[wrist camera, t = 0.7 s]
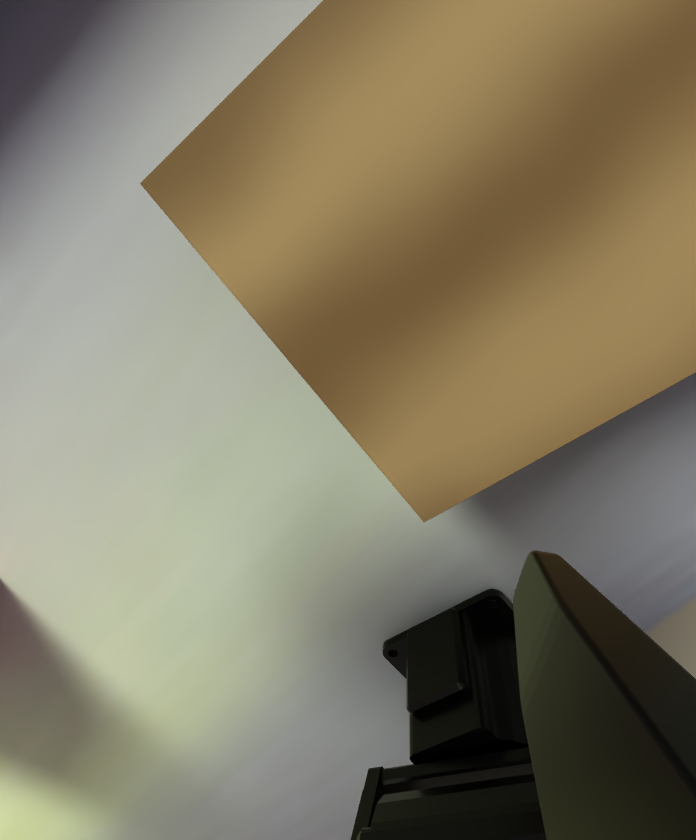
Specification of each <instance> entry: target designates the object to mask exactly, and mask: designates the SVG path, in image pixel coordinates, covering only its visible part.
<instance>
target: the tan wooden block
mask: <svg viewBox="0 0 696 840" xmlns="http://www.w3.org/2000/svg"><path fill="white" fill-rule="evenodd" d="M140 184H141V185H142V186H143V187H144V189H145V190H146V191H147V192H148V193H149V195H150V196H151V197H152V198H153V199H154V201H155V202H156V203H157V204H158V205H159V207H160V208H161V209H162V210H163V211H164V213H165V214H166V215H167V216H168V217H169V219H170V220H171V221H172V222H173V223H174V224H175V226H176V227H177V228H178V229H179V230H180V232H181V233H182V234H183V235H184V236H185V238H186V239H187V240H188V241H189V242H190V244H191V245H192V246H193V247H194V248H195V250H196V251H197V252H198V253H199V254H200V256H201V257H202V258H203V259H204V260H205V261H206V263H207V264H208V265H209V266H210V267H211V269H212V270H213V271H214V272H215V273H216V275H217V276H218V277H219V278H220V279H221V281H222V282H223V283H224V284H225V285H226V287H227V288H228V289H229V290H230V291H231V293H232V294H233V295H234V296H235V297H236V298H237V300H238V301H239V302H240V303H241V304H242V306H243V307H244V308H245V309H246V310H247V312H248V313H249V314H250V315H251V316H252V318H253V319H254V320H255V321H256V322H257V324H258V325H259V326H260V327H261V328H262V330H263V331H264V332H265V333H266V334H267V335H268V337H269V338H270V339H271V340H272V341H273V343H274V344H275V345H276V346H277V347H278V349H279V350H280V351H281V352H282V353H283V355H284V356H285V357H286V358H287V359H288V361H289V362H290V363H291V364H292V365H293V367H294V368H295V369H296V370H297V371H298V372H299V374H300V375H301V376H302V377H303V378H304V380H305V381H306V382H307V383H308V384H309V386H310V387H311V388H312V389H313V390H314V392H315V393H316V394H317V395H318V396H319V398H320V399H321V400H322V401H323V402H324V404H325V405H326V406H327V407H328V408H329V409H330V411H331V412H332V413H333V414H334V415H335V417H336V418H337V419H338V420H339V421H340V423H341V424H342V425H343V426H344V427H345V429H346V430H347V431H348V432H349V433H350V435H351V436H352V437H353V438H354V439H355V441H356V442H357V443H358V444H359V445H360V446H361V448H362V449H363V450H364V451H365V452H366V454H367V455H368V456H369V457H370V458H371V460H372V461H373V462H374V463H375V464H376V466H377V467H378V468H379V469H380V470H381V472H382V473H383V474H384V475H385V476H386V478H387V479H388V480H389V481H390V482H391V483H392V485H393V486H394V487H395V488H396V489H397V491H398V492H399V493H400V494H401V495H402V497H403V498H404V499H405V500H406V501H407V503H408V504H409V505H410V506H411V507H412V509H413V510H414V511H415V512H416V513H417V515H418V516H419V517H420V518H421V519H422V520H423V522H426V521H428V520H429V519H431V518H433V517H435V516H437V515H438V514H440V513H442V512H444V511H446V510H447V509H449V508H451V507H453V506H455V505H457V504H458V503H460V502H462V501H464V500H466V499H467V498H469V497H471V496H473V495H475V494H476V493H478V492H480V491H482V490H484V489H485V488H487V487H489V486H491V485H493V484H495V483H496V482H498V481H500V480H502V479H504V478H505V477H507V476H509V475H511V474H513V473H514V472H516V471H518V470H520V469H522V468H523V467H525V466H527V465H529V464H531V463H532V462H534V461H536V460H538V459H540V458H542V457H543V456H545V455H547V454H549V453H551V452H552V451H554V450H556V449H558V448H560V447H561V446H563V445H565V444H567V443H569V442H570V441H572V440H574V439H576V438H578V437H580V436H581V435H583V434H585V433H587V432H589V431H590V430H592V429H594V428H596V427H598V426H599V425H601V424H603V423H605V422H607V421H608V420H610V419H612V418H614V417H616V416H618V415H619V414H621V413H623V412H625V411H627V410H628V409H630V408H632V407H634V406H636V405H637V404H639V403H641V402H643V401H645V400H646V399H648V398H650V397H652V396H654V395H656V394H657V393H659V392H661V391H663V390H665V389H666V388H668V387H670V386H672V385H674V384H675V383H677V382H679V381H681V380H683V379H684V378H686V377H688V376H690V375H692V374H693V373H695V372H696V0H323V1H322V2H321V3H320V4H319V5H318V6H317V7H316V8H315V9H314V10H313V11H312V12H311V13H310V14H309V15H308V16H307V17H306V18H305V19H304V20H303V21H302V22H301V23H300V24H299V25H298V26H297V27H296V28H295V29H294V30H293V31H292V32H291V33H290V34H289V35H288V36H287V37H286V38H285V39H284V40H283V41H282V42H281V43H280V44H279V45H278V46H277V47H276V48H275V49H274V50H273V51H272V52H271V53H270V54H269V55H268V56H267V57H266V58H265V59H264V60H263V61H262V62H261V63H260V64H259V65H258V66H257V67H256V68H255V69H254V70H253V71H252V72H251V73H250V74H249V75H248V76H247V77H246V78H245V79H244V80H243V81H242V82H241V83H240V84H239V85H238V86H237V87H236V88H235V89H234V90H233V91H232V92H231V93H230V94H229V95H228V96H227V97H226V98H225V99H224V100H223V101H222V102H221V103H220V104H219V105H218V106H217V107H216V108H215V109H214V110H213V111H212V112H211V113H210V114H209V115H208V116H207V117H206V118H205V119H204V120H203V121H202V122H201V123H200V124H199V125H198V126H197V127H196V128H195V129H194V130H193V131H192V132H191V133H190V134H189V135H188V136H187V137H186V138H185V139H184V140H183V141H182V142H181V143H180V144H179V145H178V146H177V147H176V148H175V149H174V150H173V151H172V152H171V153H170V154H169V155H168V156H167V157H166V158H165V159H164V160H163V161H162V162H161V163H160V164H159V165H158V166H157V167H156V168H155V169H154V170H153V171H152V172H151V173H150V174H149V175H148V176H147V177H146V178H145V179H144V180H143V181H142V182H141V183H140Z"/></svg>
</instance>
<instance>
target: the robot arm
mask: <svg viewBox="0 0 696 840" xmlns="http://www.w3.org/2000/svg"><path fill="white" fill-rule="evenodd" d="M490 600H496V601H494V602H489V601H490ZM392 649H393V650H392ZM383 655H384V657H385V658H386V659H387V660H388V661H389V662H390V663H391V664H392V665H393V666H394V667H395V668H396V669H397V670H398V671H399V672H400V673H401V674H402V675H403V676H404V677H405V678H406V679H407V710H408V711H409V713H410V760H411V762H412V763H413V764H412V765H406V766H399V767H393V768H386V769H384V768H383V767H376V768H369V770H368V774H367V778H366V782H365V786H364V789H363V792H362V796H361V800H360V804H359V808H358V812H357V816H356V820H355V824H354V828H353V832H352V837H351V840H696V679H695V678H694V677H693V676H692V675H691V674H690V673H689V672H687V671H686V670H685V669H684V668H683V667H682V666H681V665H680V664H679V663H678V662H676V661H675V660H674V659H673V658H672V657H671V656H670V655H668V653H667V652H665V651H664V650H663V649H662V648H661V647H660V646H659V645H658V644H657V643H655V642H654V641H653V640H652V639H651V638H650V637H649V636H648V635H647V634H646V633H644V632H643V631H642V630H641V629H640V628H639V627H638V626H637V625H636V624H634V623H633V622H632V621H631V620H630V619H629V618H628V617H627V616H626V615H625V614H623V613H622V612H621V611H620V610H619V609H618V608H617V607H616V606H615V605H614V604H612V603H611V602H610V601H609V600H608V599H607V598H606V597H605V596H604V595H602V594H601V593H600V592H599V591H598V590H597V589H596V588H595V587H594V586H593V585H591V584H590V583H589V582H588V581H587V580H586V579H585V578H584V577H583V576H581V575H580V574H579V573H578V572H577V571H576V570H575V569H574V568H573V567H572V566H570V565H569V564H568V563H567V562H566V561H565V560H564V559H563V558H562V557H560V556H559V555H557V554H553V553H547V552H541V551H532V552H530V553H529V554H528V556H527V558H526V561H525V564H524V566H523V569H522V572H521V575H520V578H519V581H518V584H517V587H516V590H515V594H514V603H513V605H512V604H511V603H510V602H509V601H508V600H507V599H506V597H505V596H504V595H503V594H502V593H501V592H500V591H499V590H495V589H489V590H486V591H484V592H482V593H480V594H478V595H476V596H474V597H472V598H470V599H468V600H466V601H464V602H462V603H460V604H458V605H456V606H454V607H452V608H450V609H448V610H446V611H444V612H442V613H440V614H438V615H436V616H434V617H432V618H430V619H428V620H426V621H424V622H422V623H420V624H418V625H416V626H414V627H412V628H410V629H408V630H406V631H404V632H402V633H400V634H398V635H396V636H395V637H393V638H391V639H389V640H387V641H385V642H384V644H383Z"/></svg>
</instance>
